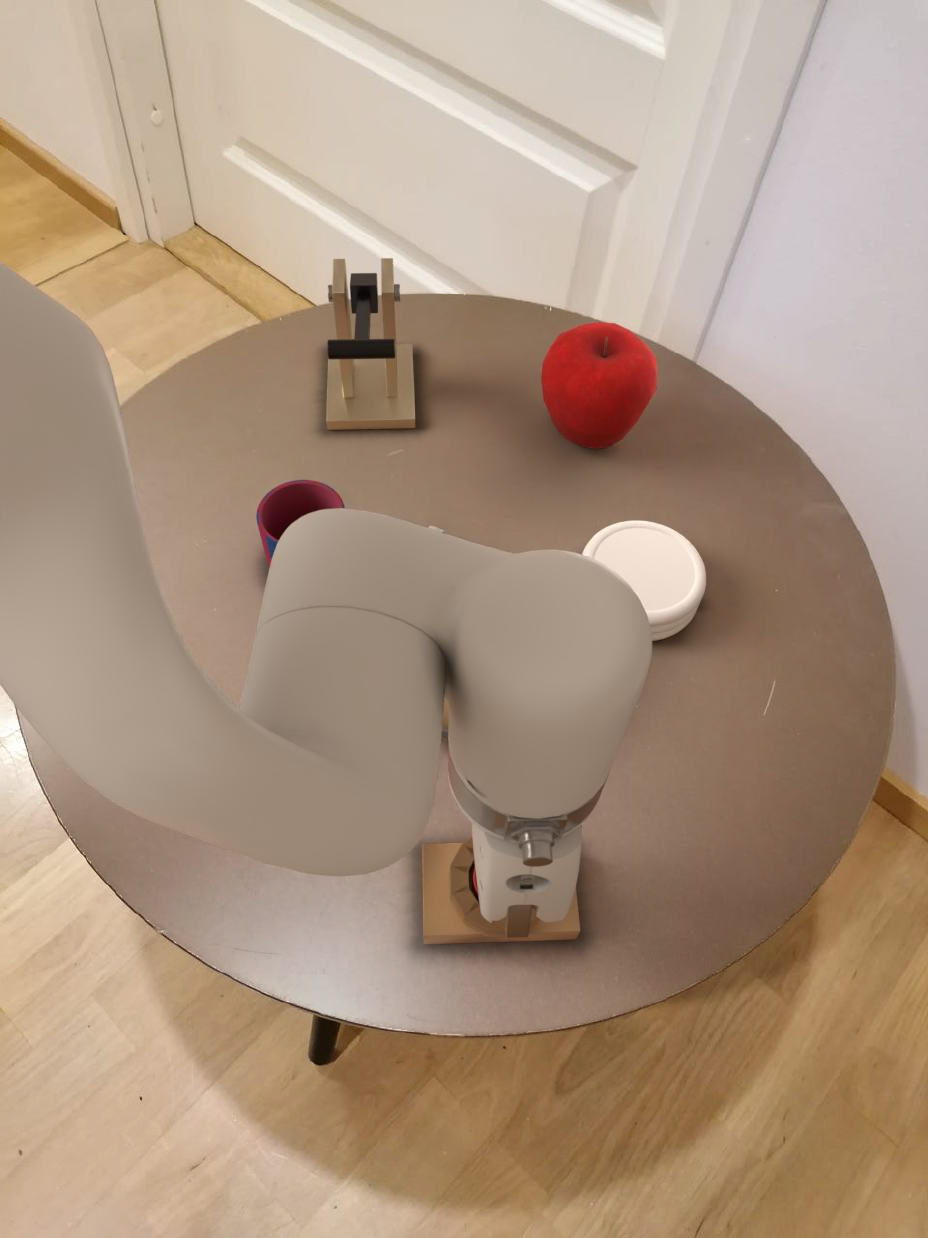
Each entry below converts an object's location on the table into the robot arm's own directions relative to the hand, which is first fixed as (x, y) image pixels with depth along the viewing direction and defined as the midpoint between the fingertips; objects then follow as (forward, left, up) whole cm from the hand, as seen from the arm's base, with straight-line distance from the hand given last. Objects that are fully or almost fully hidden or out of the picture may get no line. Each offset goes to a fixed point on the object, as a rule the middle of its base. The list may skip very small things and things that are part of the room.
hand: (503, 877), depth 59 cm
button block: (0, 0, -4) cm, 4 cm away
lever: (+20, +39, +7) cm, 44 cm away
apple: (+35, +26, -4) cm, 44 cm away
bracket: (+24, +43, -4) cm, 49 cm away
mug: (+6, +29, -4) cm, 30 cm away
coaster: (+25, +11, -4) cm, 28 cm away
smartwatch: (+14, +24, -4) cm, 28 cm away
